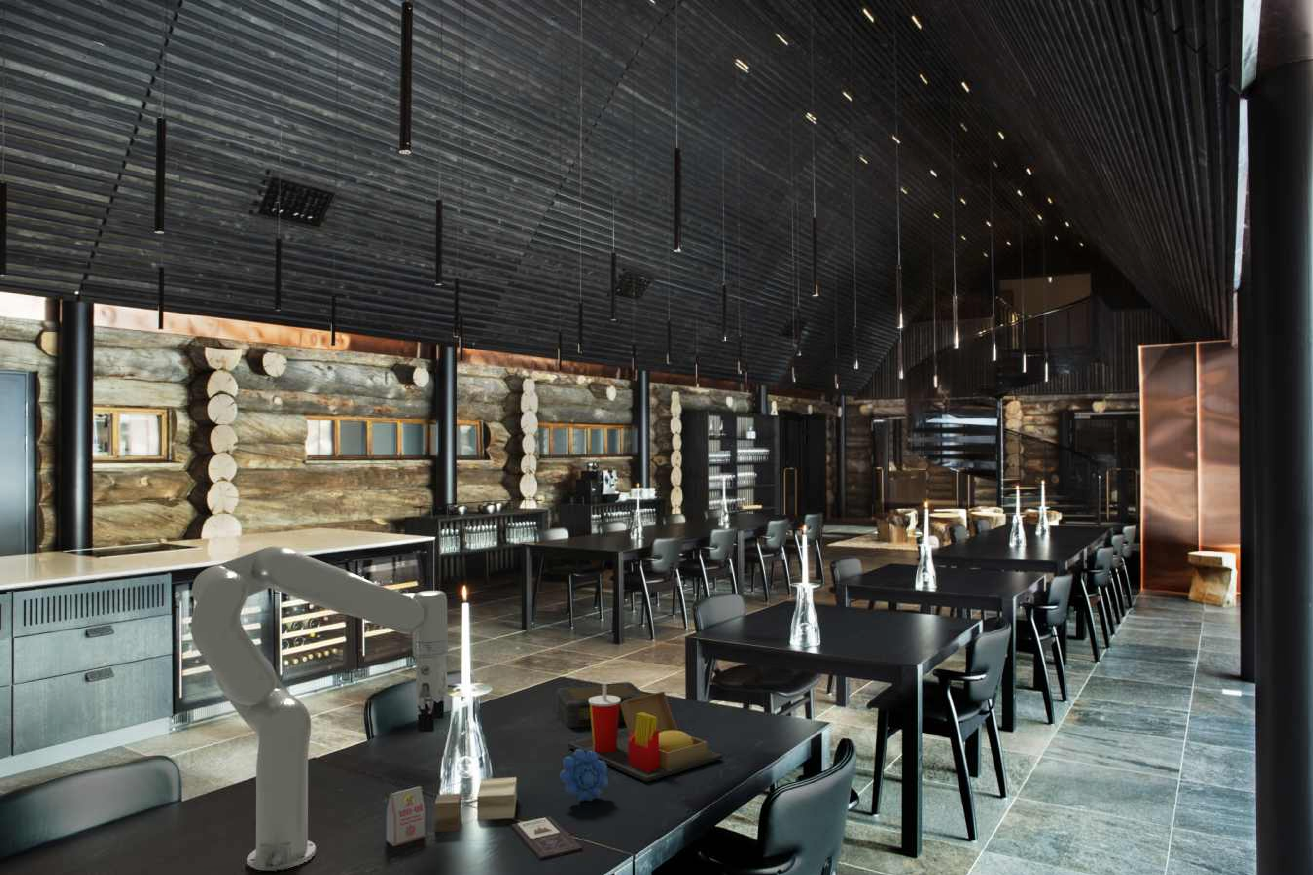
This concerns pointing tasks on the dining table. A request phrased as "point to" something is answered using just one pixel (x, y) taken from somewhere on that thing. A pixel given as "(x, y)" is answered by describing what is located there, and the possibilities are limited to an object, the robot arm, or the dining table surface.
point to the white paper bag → (405, 816)
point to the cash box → (576, 701)
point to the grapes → (584, 774)
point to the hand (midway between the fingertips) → (431, 724)
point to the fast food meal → (642, 737)
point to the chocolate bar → (546, 837)
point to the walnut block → (447, 812)
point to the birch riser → (497, 798)
